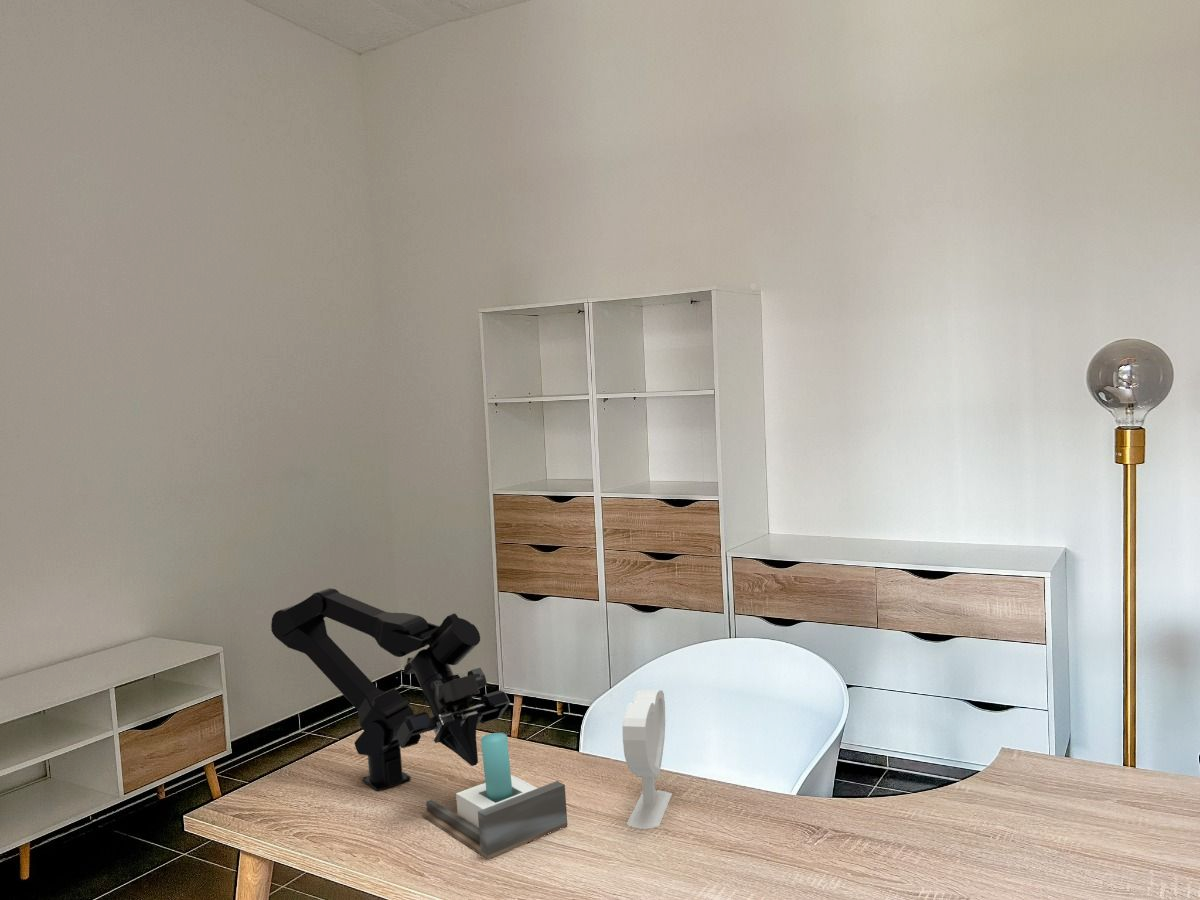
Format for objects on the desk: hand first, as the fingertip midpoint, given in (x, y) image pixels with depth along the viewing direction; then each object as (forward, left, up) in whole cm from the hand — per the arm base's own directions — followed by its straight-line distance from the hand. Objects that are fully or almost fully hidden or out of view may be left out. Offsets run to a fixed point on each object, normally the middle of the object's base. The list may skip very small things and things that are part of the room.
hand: (475, 764), depth 154 cm
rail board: (+4, 0, -8) cm, 9 cm away
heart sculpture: (+19, +20, -8) cm, 29 cm away
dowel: (+7, 0, -7) cm, 10 cm away
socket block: (+7, 0, -7) cm, 10 cm away
